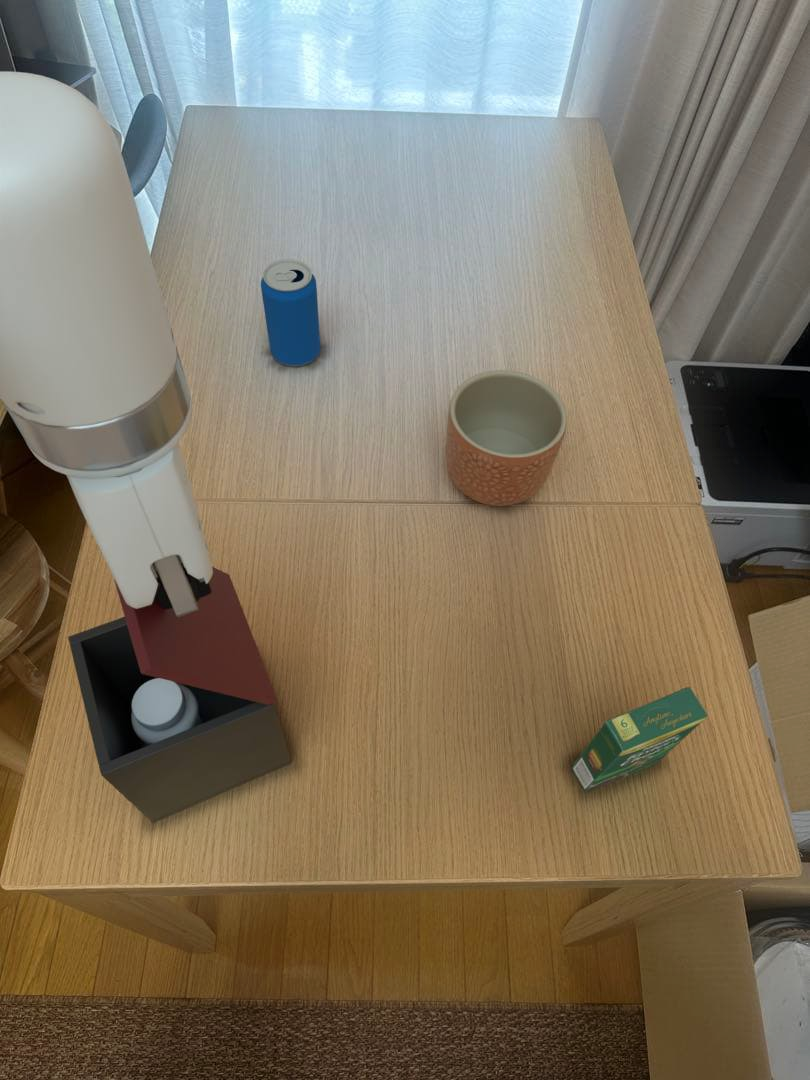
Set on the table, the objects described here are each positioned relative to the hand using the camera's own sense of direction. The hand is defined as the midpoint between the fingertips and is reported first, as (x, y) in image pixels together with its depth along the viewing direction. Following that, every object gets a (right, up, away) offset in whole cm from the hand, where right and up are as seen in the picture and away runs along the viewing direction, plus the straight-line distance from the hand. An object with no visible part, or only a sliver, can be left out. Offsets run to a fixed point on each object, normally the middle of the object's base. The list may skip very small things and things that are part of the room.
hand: (185, 592), depth 48 cm
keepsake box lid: (-1, -2, +3) cm, 3 cm away
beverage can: (0, +28, +47) cm, 55 cm away
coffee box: (+34, -18, +20) cm, 43 cm away
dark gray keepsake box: (-4, -14, +20) cm, 25 cm away
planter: (+25, +11, +38) cm, 46 cm away
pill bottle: (-6, -15, +19) cm, 24 cm away
